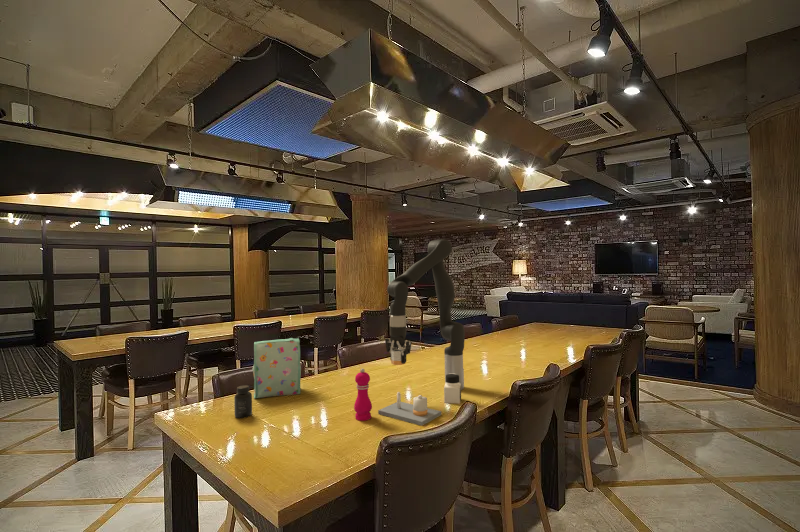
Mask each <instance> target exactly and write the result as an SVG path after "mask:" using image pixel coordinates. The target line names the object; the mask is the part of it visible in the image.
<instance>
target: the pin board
mask: <svg viewBox="0 0 800 532" xmlns="http://www.w3.org/2000/svg"><path fill="white" fill-rule="evenodd" d="M401 395H402V394H401V392H400V391H397V393H396V402H393V403H391V404H390V405H387V406H385V407H383V408H381V409H378V410H377V411H378V412H377V413H378V415H380V416H384V417H388V418H389V417H390V418H392V419H395V420H399V421H402V422H406V423H411V424H414V425H418V426H424V425H427V424H428V423H430V422H431V421H433V420H435V419H436V418H438V417H440V416H442V411H441V410H439V409H438V410H437V409H434V408H429V407H428V398H427V396H423V395H421V394H419V395H418V396H415V397H413V399H412V400H413V403H408V402H404V401H401V400H402V399H401V398H402V397H401Z"/></svg>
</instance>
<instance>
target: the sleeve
mask: <svg viewBox="0 0 800 532" xmlns="http://www.w3.org/2000/svg"><path fill="white" fill-rule="evenodd" d="M390 362H391V364H392V365H394V366H401V365H406V363H404V364H402V354H401V351H400V350H399V348H396V349H394V350H391V359H390Z"/></svg>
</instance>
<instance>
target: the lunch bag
mask: <svg viewBox="0 0 800 532" xmlns="http://www.w3.org/2000/svg"><path fill="white" fill-rule="evenodd" d="M300 342H301V340H300V338H299V337H297V338H293V337H290V338H285V339H282V338H281V339H272V340H271V339H270V340H262V341H254V343H253V356H254V357H253V366H252V369H251V370H252V373H253V374H252V375H253V380H254V382H253V391H254V393H253V399H261V398H262V399H263V398H269V397H279V396H292V395H293V396H294V395H301V371H302V366H301V345H300Z"/></svg>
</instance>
